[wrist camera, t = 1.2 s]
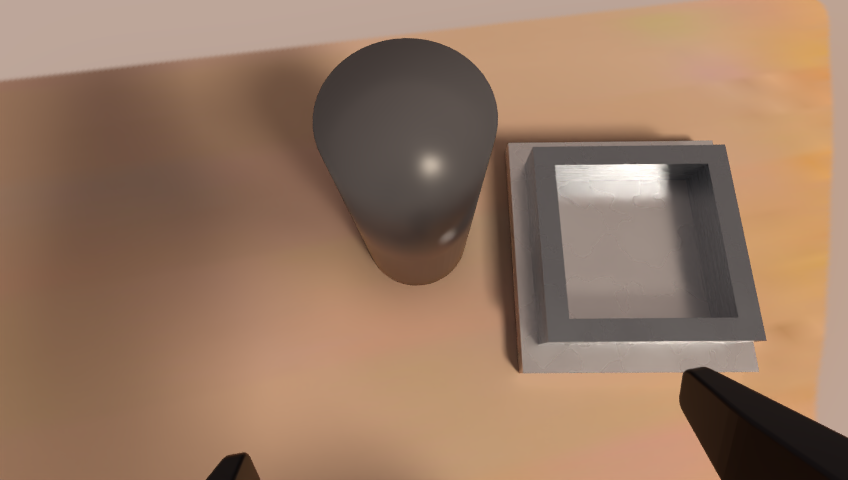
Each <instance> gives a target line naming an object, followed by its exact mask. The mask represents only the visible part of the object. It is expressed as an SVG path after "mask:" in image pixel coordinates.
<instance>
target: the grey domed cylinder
mask: <svg viewBox="0 0 848 480" xmlns="http://www.w3.org/2000/svg"><path fill="white" fill-rule="evenodd" d="M497 126H498V112H497V105H496V101H495V97H494V94H493V91H492V89H491V87H490V85H489V83H488V81H487V80H486V78H485V77H484V75H483V74H482V73H481V71H480V70H479V69H478V68H477V67H476V66H475V65H474V64H473V63H472V62H471V61H470V60H469V59H467V58H466V57H465V56H463V55H462V54H460V53H459V52H457V51H455V50H453V49H451V48H450V47H447V46H445V45H442V44H440V43H436V42H432V41H429V40H422V39H412V38H402V39H392V40H386V41H381V42H378V43H375V44H372V45H369V46H367V47H364V48H362V49H360V50H358V51H357V52H355V53H353V54H351V55H350V56H349V57H347V58H346V59H345V60H343V61H342V62H341V63H340V64H339V65H338V66H337V67H336V68H335V69H334V70H333V71H332V72H331V73H330V75H329V76H328V77H327V79H326V80H325V82H324V83H323V85H322V87H321V89H320V91H319V93H318V96H317V99H316V102H315V106H314V112H313V132H314V138H315V141H316V145H317V148H318V150H319V152H320V154H321V156H322V158H323V160H324V162H325V164H326V166H327V168H328V170H329V172H330V174H331V176H332V178H333V180H334V182H335V184H336V186H337V188H338V190H339V192H340V194H341V196H342V198H343V200H344V202H345V204H346V206H347V208H348V210H349V212H350V214H351V216H352V218H353V220H354V222H355V224H356V226H357V228H358V230H359V232H360V234H361V236H362V238H363V240H364V242H365V244H366V246H367V248H368V250H369V252H370V254H371V256H372V258H373V260H374V262H375V263H376V265H377V266H378V268H379V269H380V270H381V271H382V272H383V273H384V274H386V275H387V276H388V277H390V278H391V279H393V280H395V281H397V282H400V283H403V284H408V285H425V284H430V283H433V282H436V281H438V280H440V279H442V278H443V277H445V276H446V275H448V274H449V273H450V272H451V271H452V270H453V269H454V268H455V267H456V265H457V264H458V262H459V261H460V259H461V257H462V254H463V251H464V248H465V245H466V241H467V237H468V234H469V230H470V227H471V223H472V220H473V216H474V212H475V209H476V205H477V202H478V198H479V194H480V191H481V187H482V184H483V180H484V177H485V173H486V169H487V166H488V162H489V159H490V155H491V152H492V148H493V144H494V141H495V137H496V132H497Z"/></svg>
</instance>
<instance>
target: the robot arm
mask: <svg viewBox="0 0 848 480" xmlns="http://www.w3.org/2000/svg"><path fill="white" fill-rule="evenodd" d="M679 402H680V406H681V409H682V411H683V413H684V414H685V416H686V418H687V420H688V422H689V423H690V425H691V427H692V429H693V431H694V432H695V434H696V436H697V438H698V440H699V441H700V443H701V445H702V447H703V449H704V450H705V452H706V454H707V456H708V458H709V459H710V461H711V463H712V465H713V466H714V468H715V470H716V472H717V473H718V475H719V477H720V479H721V480H848V438H847V437H846V436H843V435H842V434H840V433H837V432H835V431H833V430H832V429H830V428H828V427H826V426H824V425H821V424H820V423H818V422H816V421H814V420H812V419H810V418H808V417H806V416H804V415H802V414H800V413H798V412H796V411H794V410H792V409H790V408H788V407H786V406H784V405H782V404H780V403H778V402H776V401H774V400H772V399H770V398H768V397H766V396H764V395H762V394H760V393H758V392H756V391H754V390H752V389H750V388H748V387H746V386H744V385H742V384H740V383H738V382H736V381H734V380H732V379H730V378H728V377H726V376H724V375H722V374H720V373H718V372H716V371H714V370H712V369H710V368H708V367H697V368H691V369H687V370H685V371H684V373H683V376H682V383H681V389H680V395H679ZM206 480H260V478H259V475H258V473H257V471H256V469H255V467H254V464H253V462H252V460H251V458H250V456H249V454H247V453H244V452H243V453H237V454H232V455H228V456H226V457H225V458H223V459H222V460H221V462H220V463H219V464H218V465H217V467H216V468H215V469H214V470H213V472H212V473H211V474H210V475H209V476H208V478H207V479H206Z"/></svg>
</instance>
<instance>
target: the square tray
mask: <svg viewBox="0 0 848 480" xmlns="http://www.w3.org/2000/svg"><path fill="white" fill-rule="evenodd" d="M505 154H506V171H507V187H508V203H509V219H510V235H511V252H512V268H513V284H514V300H515V317H516V333H517V349H518V365H519V373H645V372H684V371H685V370H687V369H691V368H697V367H708V368H710V369H712V370H714V371H716V372H759V368H758V363H757V358H756V353H755V348H754V344H753V342H757V341H766V336H765V331H764V326H763V322H762V317H761V312H760V308H759V303H758V298H757V293H756V289H755V284H754V279H753V275H752V270H751V265H750V260H749V256H748V251H747V246H746V242H745V237H744V232H743V227H742V223H741V218H740V213H739V208H738V204H737V199H736V194H735V190H734V185H733V180H732V175H731V171H730V166H729V161H728V157H727V152H726V147H725V145H713V142H712V141H633V142H544V143H508V145H507V148H506V151H505Z"/></svg>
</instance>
